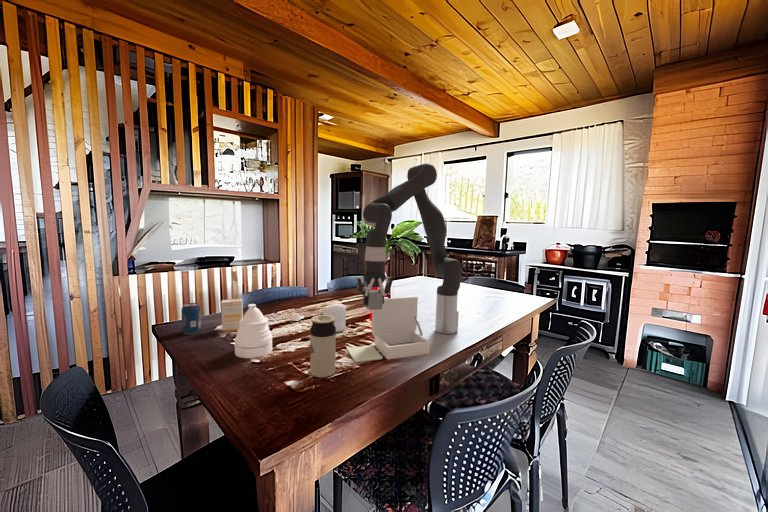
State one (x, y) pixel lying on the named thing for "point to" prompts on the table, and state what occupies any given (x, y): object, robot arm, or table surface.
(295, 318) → the teacup and saucer
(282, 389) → the table surface
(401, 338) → the case
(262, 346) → the honey pot
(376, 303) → the block
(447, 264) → the robot arm
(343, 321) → the photo printer
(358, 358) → the mat
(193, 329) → the soda can
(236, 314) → the supplement box
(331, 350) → the travel mug
